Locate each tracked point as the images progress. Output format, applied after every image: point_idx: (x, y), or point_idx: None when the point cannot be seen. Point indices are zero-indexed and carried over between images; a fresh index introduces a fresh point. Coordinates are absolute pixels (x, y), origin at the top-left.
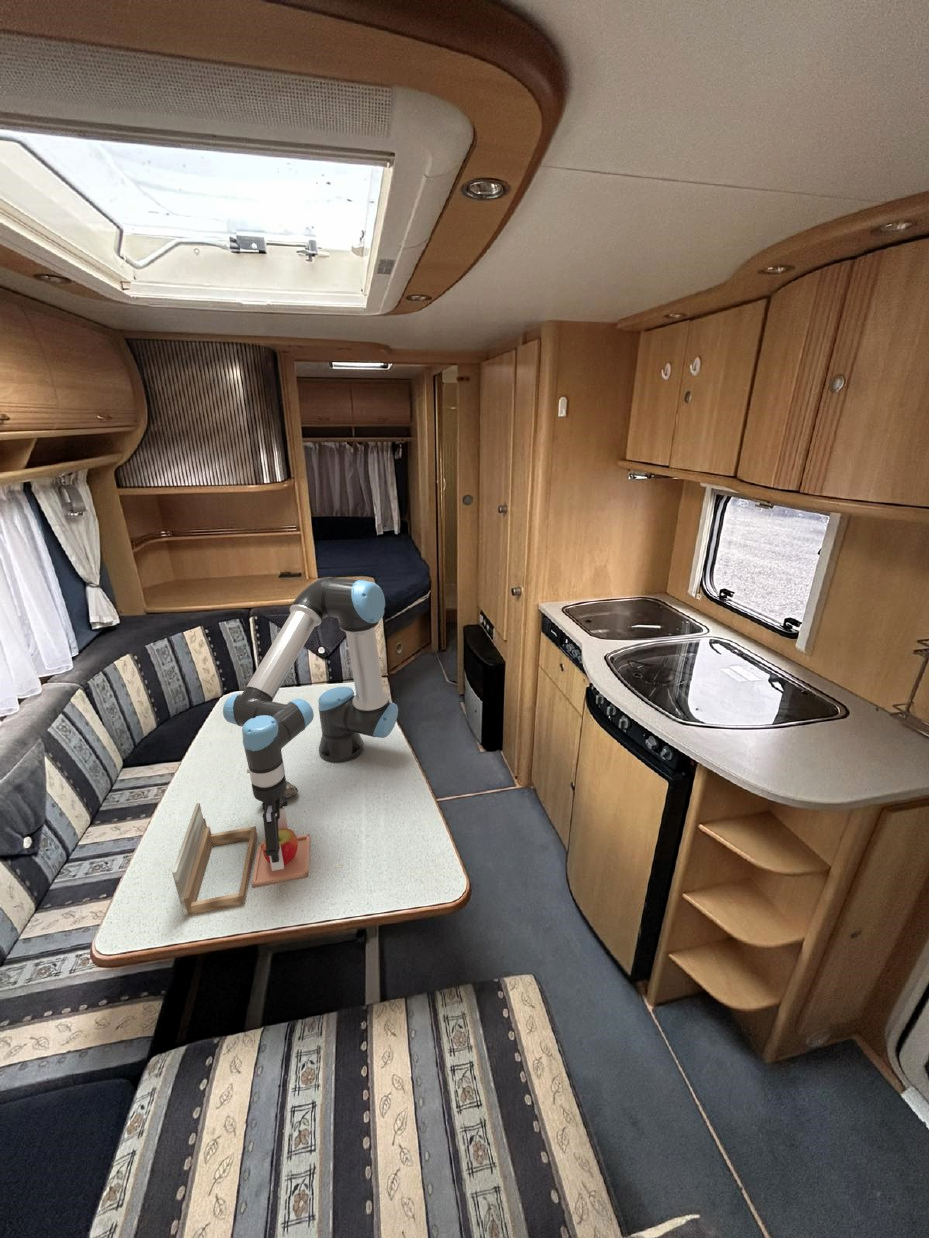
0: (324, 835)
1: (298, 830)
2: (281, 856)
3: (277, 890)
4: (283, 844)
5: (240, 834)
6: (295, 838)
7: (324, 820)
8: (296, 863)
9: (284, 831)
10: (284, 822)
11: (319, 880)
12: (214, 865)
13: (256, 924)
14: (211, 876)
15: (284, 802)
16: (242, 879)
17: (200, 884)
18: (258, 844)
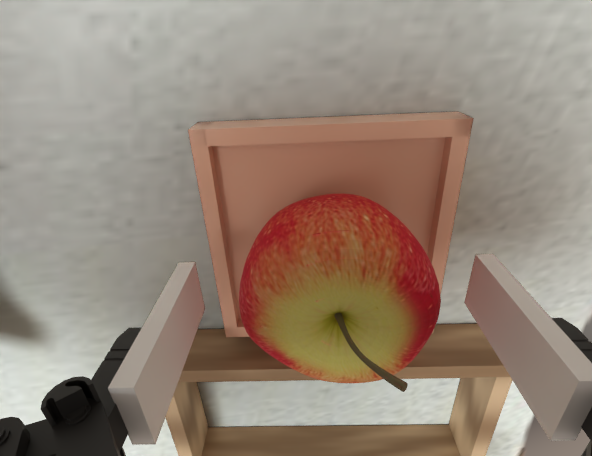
0: (175, 40)
1: (137, 185)
2: (546, 315)
3: (466, 235)
4: (411, 305)
5: (183, 397)
6: (345, 231)
7: (54, 47)
8: (367, 178)
9: (290, 310)
10: (183, 305)
11: (494, 51)
12: (285, 413)
13: (586, 284)
14: (327, 413)
15: (60, 413)
16: (434, 375)
17: (369, 442)
18: (234, 335)
